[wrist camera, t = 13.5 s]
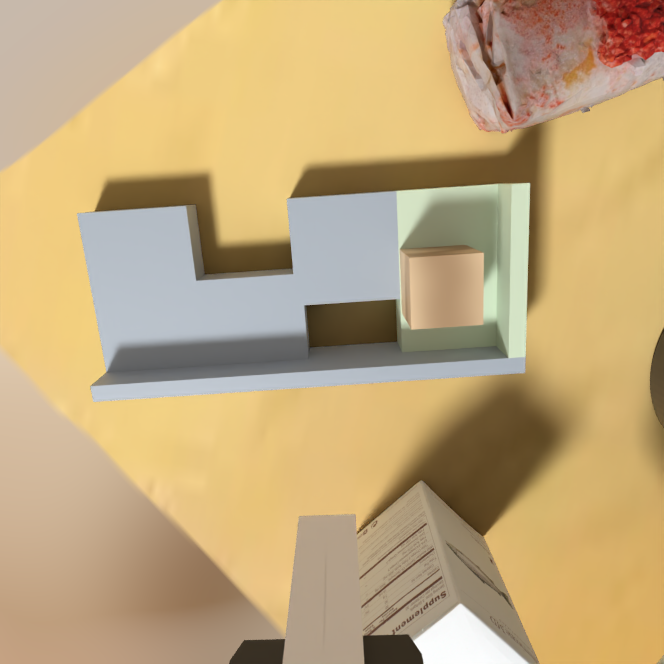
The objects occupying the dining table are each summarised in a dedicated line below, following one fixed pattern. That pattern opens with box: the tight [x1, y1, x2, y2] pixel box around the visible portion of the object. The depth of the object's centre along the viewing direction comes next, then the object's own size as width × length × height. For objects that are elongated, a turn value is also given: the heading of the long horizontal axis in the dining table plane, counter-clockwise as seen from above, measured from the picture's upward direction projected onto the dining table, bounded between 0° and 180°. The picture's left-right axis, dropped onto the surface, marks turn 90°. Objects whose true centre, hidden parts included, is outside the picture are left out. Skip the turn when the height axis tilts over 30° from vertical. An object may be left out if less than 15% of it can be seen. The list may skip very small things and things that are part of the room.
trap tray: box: [77, 183, 530, 402], centre depth 34 cm, size 26×11×5 cm, turn 94°
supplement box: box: [357, 480, 539, 664], centre depth 35 cm, size 7×7×13 cm
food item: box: [443, 0, 664, 134], centre depth 28 cm, size 14×8×10 cm, turn 111°
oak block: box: [400, 245, 484, 330], centre depth 32 cm, size 4×4×4 cm
